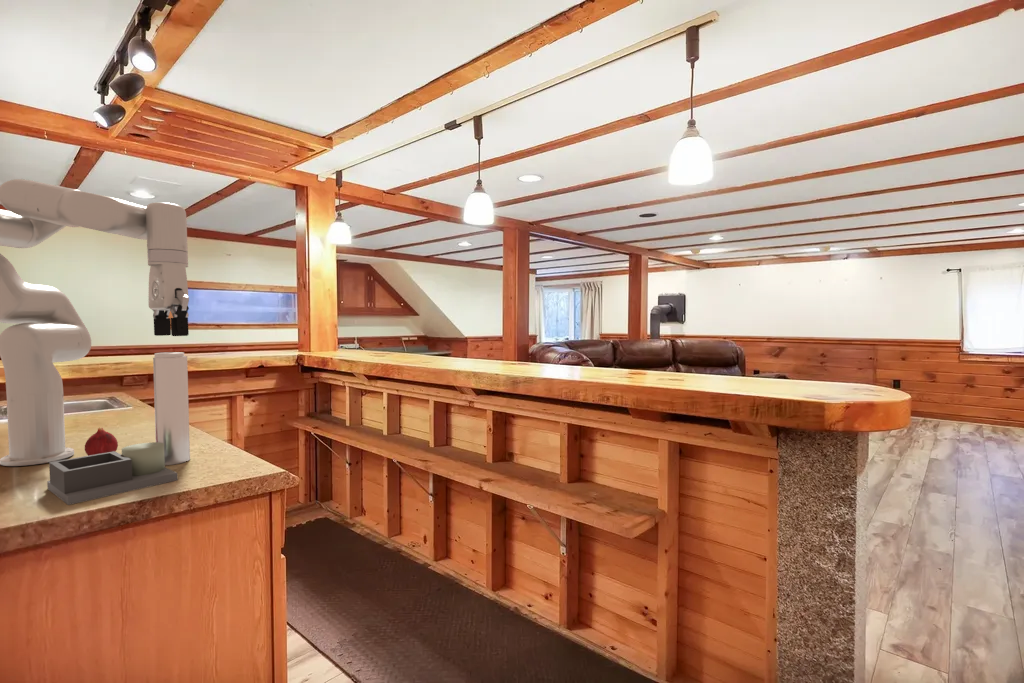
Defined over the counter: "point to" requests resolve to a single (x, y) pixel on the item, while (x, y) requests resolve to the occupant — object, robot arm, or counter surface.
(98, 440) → the onion
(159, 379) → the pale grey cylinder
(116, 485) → the grey desk organizer
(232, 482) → the counter surface
